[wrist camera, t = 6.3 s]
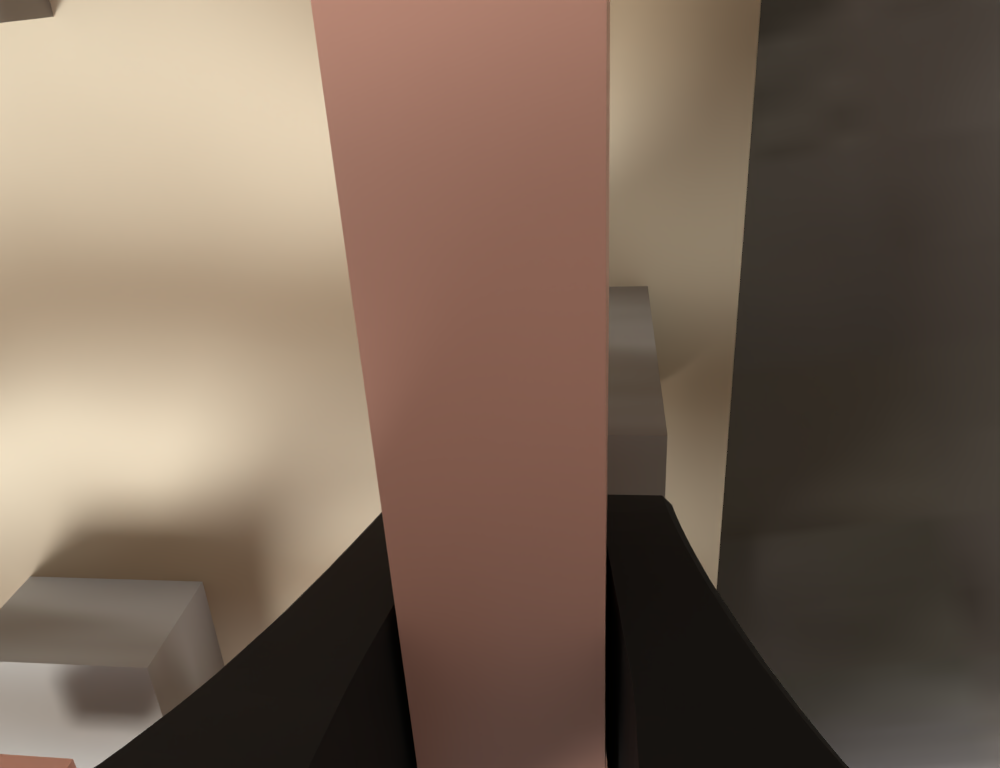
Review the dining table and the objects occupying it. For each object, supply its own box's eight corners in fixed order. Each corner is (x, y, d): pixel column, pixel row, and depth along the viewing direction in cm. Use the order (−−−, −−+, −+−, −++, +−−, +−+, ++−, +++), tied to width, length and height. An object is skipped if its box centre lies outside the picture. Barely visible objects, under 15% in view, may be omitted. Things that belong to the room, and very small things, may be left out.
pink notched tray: (607, 840, 15) (604, 1211, 11) (13, 796, 17) (-206, 1106, 12) (611, -288, 8) (607, -590, 3) (-434, -189, 9) (-1370, -314, 5)
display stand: (698, 684, 20) (736, 977, 14) (66, 657, 22) (-124, 906, 16) (768, -340, 12) (929, -625, 6) (-266, -238, 14) (-905, -379, 8)
